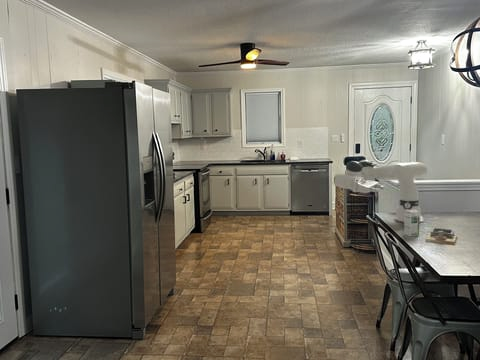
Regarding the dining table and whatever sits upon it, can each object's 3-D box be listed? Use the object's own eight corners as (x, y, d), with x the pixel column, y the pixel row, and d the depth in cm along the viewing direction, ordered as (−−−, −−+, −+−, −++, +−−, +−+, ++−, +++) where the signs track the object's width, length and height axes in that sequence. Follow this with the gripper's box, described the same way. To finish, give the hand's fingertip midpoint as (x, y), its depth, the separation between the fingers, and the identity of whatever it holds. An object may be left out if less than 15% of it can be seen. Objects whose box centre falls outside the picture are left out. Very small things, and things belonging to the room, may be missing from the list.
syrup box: (410, 236, 239) (411, 211, 237) (403, 234, 245) (404, 209, 243) (418, 235, 241) (419, 211, 239) (412, 233, 246) (412, 209, 245)
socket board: (429, 234, 244) (430, 224, 243) (456, 237, 237) (457, 227, 236) (425, 241, 229) (425, 231, 228) (454, 244, 222) (454, 234, 221)
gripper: (364, 186, 265) (386, 191, 257) (351, 192, 249) (374, 197, 241) (365, 176, 263) (387, 181, 256) (353, 182, 247) (376, 187, 239)
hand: (381, 189), depth 248 cm, fingers open, 8 cm apart
